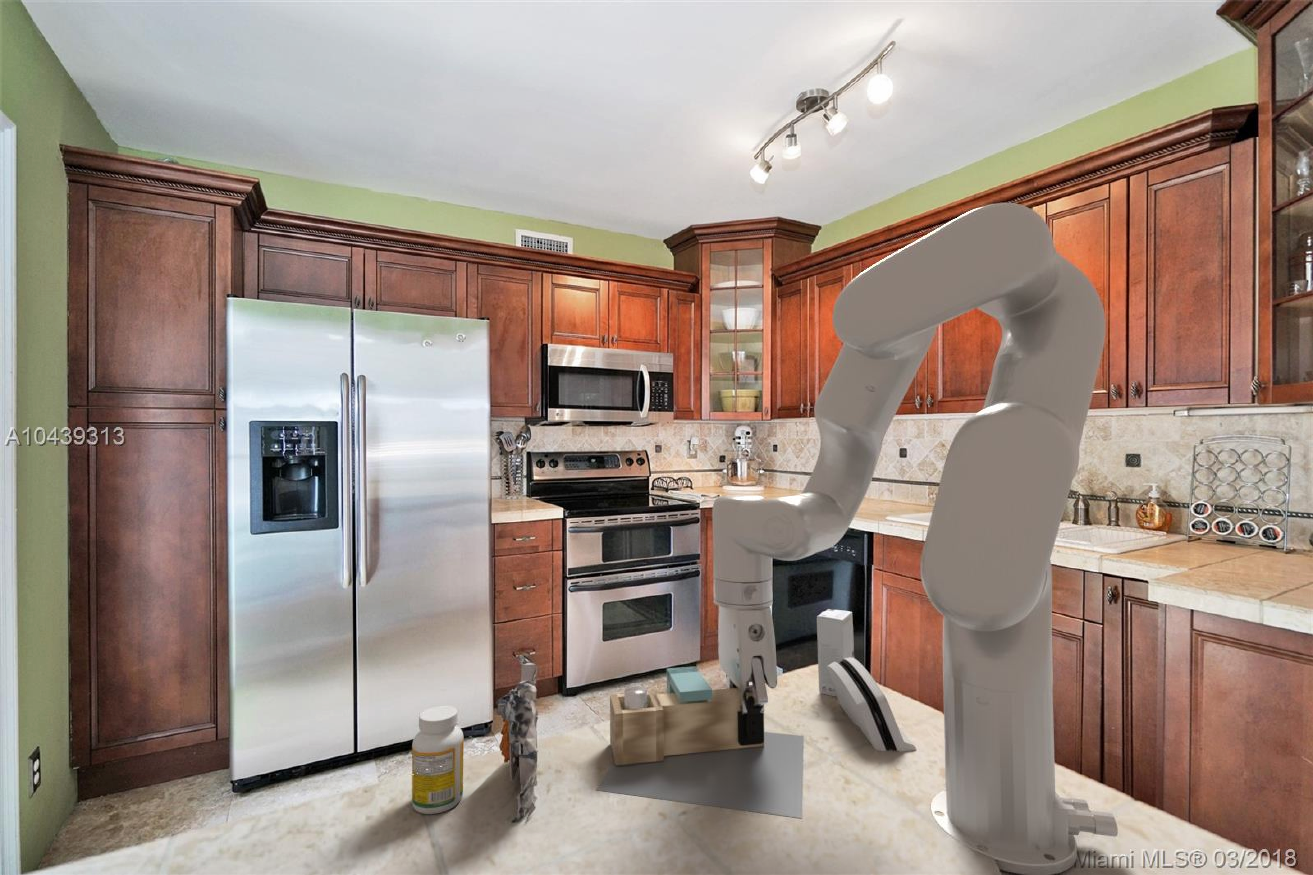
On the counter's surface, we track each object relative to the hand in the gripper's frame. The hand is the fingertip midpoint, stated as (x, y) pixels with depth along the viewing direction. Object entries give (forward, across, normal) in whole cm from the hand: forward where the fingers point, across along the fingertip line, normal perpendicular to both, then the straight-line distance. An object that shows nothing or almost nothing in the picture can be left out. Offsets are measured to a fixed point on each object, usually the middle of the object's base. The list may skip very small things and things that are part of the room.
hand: (745, 734), depth 76 cm
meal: (+2, -4, +28) cm, 28 cm away
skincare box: (+2, +16, -21) cm, 26 cm away
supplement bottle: (+2, -4, +37) cm, 37 cm away
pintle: (+1, 0, +14) cm, 14 cm away
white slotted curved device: (+3, +2, -18) cm, 18 cm away
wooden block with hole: (+1, 0, +8) cm, 8 cm away
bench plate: (+2, -4, +6) cm, 7 cm away
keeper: (+1, +1, +7) cm, 7 cm away
